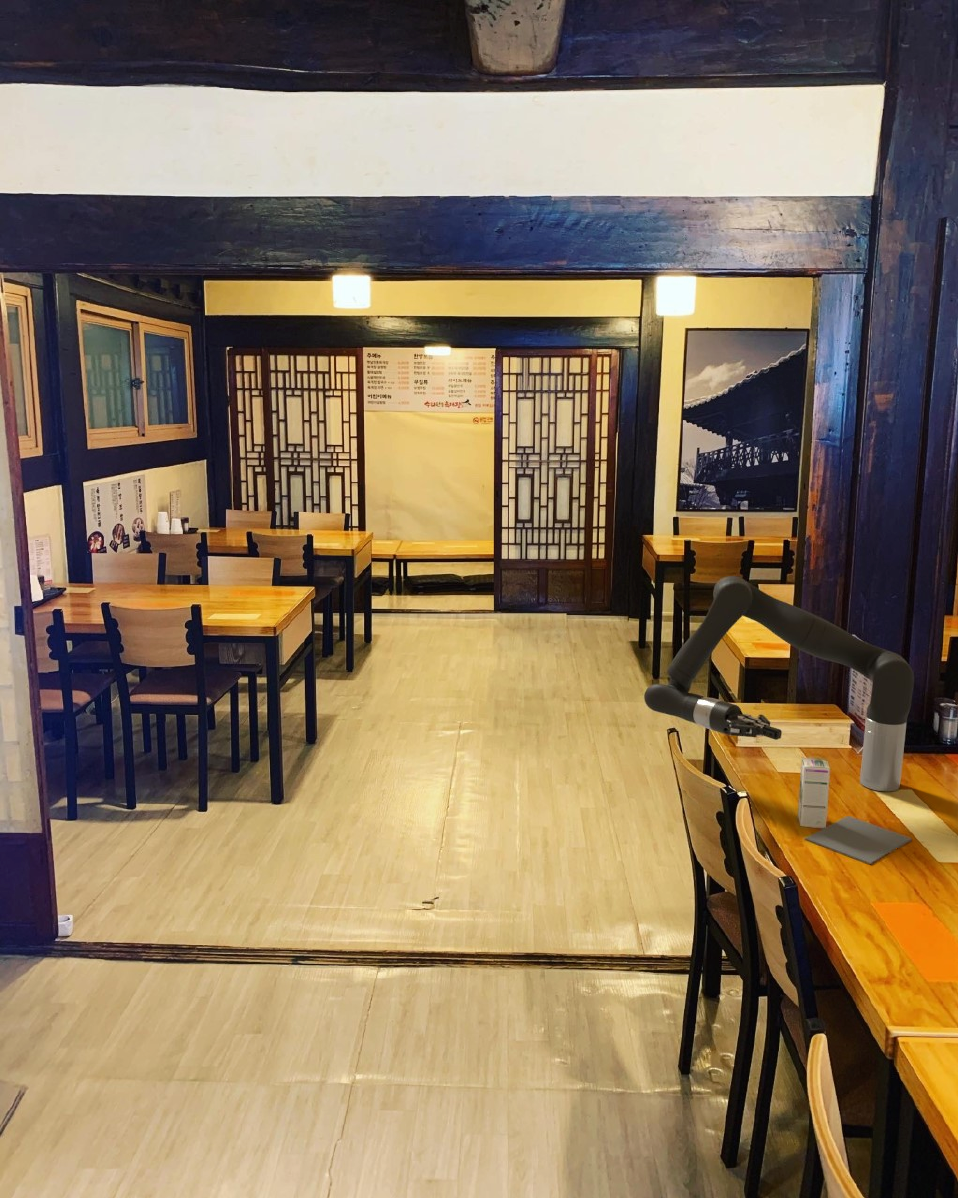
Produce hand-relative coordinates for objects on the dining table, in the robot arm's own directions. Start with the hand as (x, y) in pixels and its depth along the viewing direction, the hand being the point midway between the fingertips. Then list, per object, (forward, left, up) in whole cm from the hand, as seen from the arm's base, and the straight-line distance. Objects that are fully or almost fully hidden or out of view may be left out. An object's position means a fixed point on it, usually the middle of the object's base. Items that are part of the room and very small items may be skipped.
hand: (779, 735), depth 228 cm
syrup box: (0, +10, -18) cm, 21 cm away
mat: (0, +21, -18) cm, 28 cm away
